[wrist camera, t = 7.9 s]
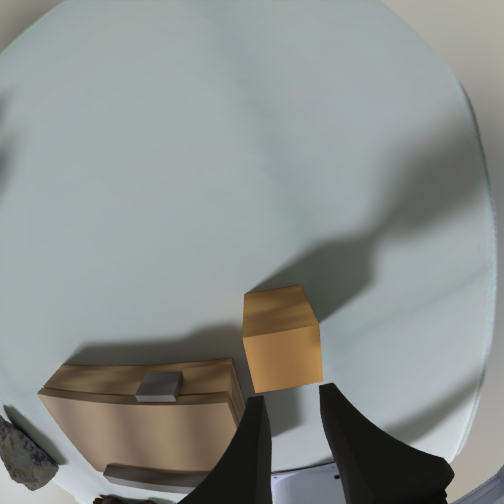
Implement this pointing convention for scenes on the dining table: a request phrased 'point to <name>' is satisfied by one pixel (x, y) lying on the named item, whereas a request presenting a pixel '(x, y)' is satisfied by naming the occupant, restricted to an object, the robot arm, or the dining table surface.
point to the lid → (147, 432)
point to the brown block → (281, 339)
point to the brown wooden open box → (130, 377)
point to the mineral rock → (24, 458)
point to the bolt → (114, 501)
